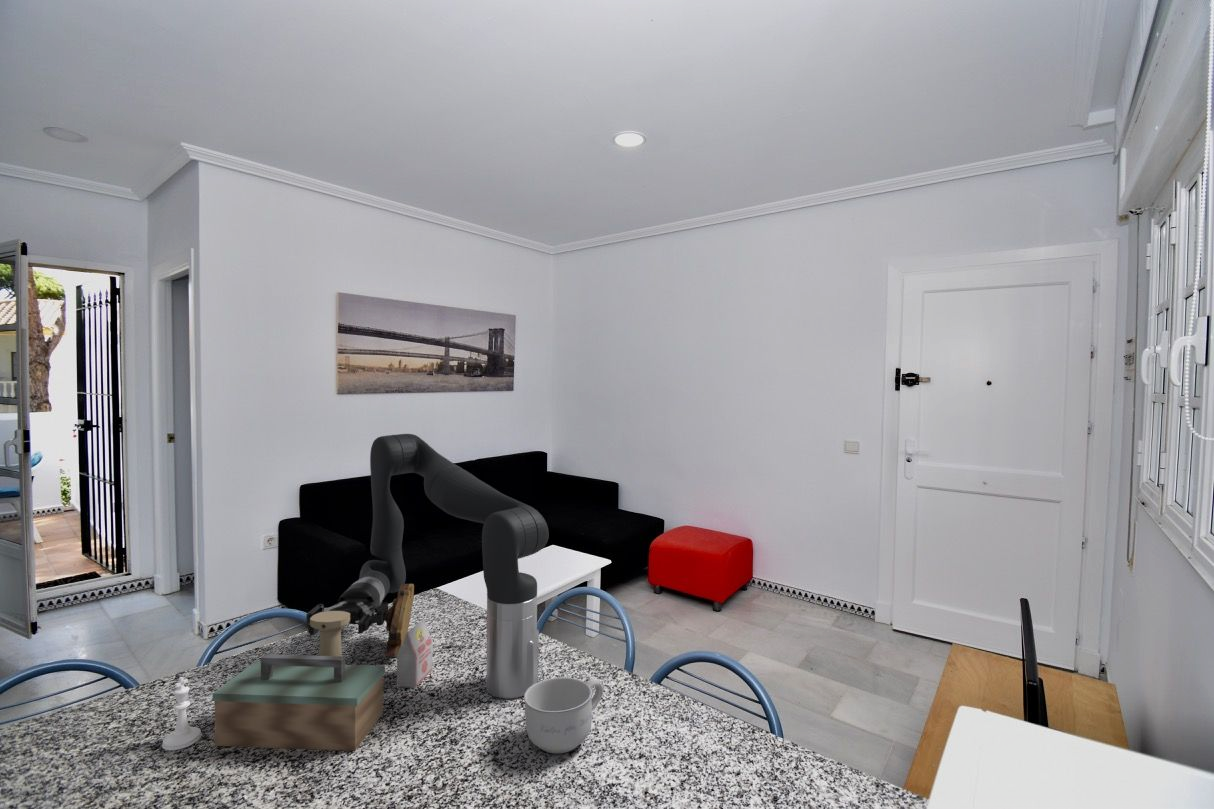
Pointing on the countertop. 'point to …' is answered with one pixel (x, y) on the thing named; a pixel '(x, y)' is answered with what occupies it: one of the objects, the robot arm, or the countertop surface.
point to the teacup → (560, 712)
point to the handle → (330, 631)
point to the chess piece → (181, 722)
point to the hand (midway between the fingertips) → (336, 629)
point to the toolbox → (299, 704)
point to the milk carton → (414, 656)
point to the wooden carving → (399, 619)
